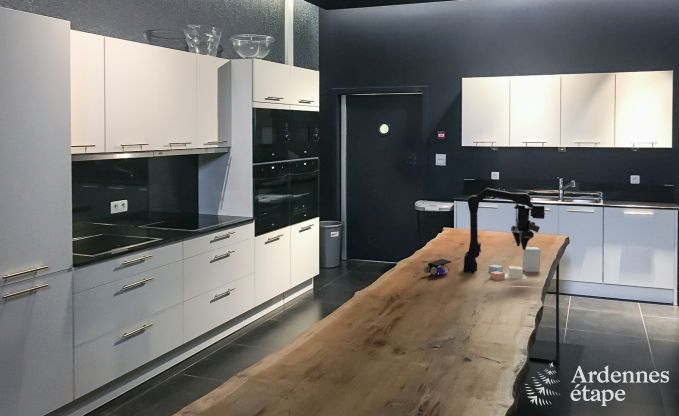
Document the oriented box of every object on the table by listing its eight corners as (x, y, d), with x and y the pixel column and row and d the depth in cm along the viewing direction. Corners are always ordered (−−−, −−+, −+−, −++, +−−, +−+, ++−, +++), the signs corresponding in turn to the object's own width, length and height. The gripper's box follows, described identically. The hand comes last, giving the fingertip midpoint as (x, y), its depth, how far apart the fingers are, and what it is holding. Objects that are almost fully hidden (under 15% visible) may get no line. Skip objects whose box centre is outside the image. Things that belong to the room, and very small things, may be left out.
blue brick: (488, 273, 345) (489, 266, 345) (493, 272, 349) (494, 264, 348) (497, 275, 342) (497, 267, 341) (502, 273, 346) (502, 266, 345)
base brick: (510, 276, 335) (510, 269, 334) (508, 274, 341) (508, 266, 340) (522, 277, 334) (522, 269, 334) (520, 274, 340) (521, 266, 340)
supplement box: (539, 273, 347) (541, 249, 345) (525, 273, 347) (526, 249, 345) (536, 270, 354) (537, 246, 352) (521, 270, 354) (523, 246, 353)
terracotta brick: (497, 282, 327) (497, 274, 327) (489, 280, 332) (490, 272, 331) (504, 281, 330) (504, 273, 330) (497, 278, 334) (497, 271, 334)
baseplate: (502, 279, 332) (502, 277, 332) (500, 274, 342) (500, 273, 342) (527, 280, 331) (527, 278, 331) (524, 275, 341) (524, 274, 341)
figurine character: (433, 281, 333) (452, 273, 343) (433, 266, 331) (452, 259, 341) (423, 279, 338) (441, 271, 348) (422, 264, 336) (441, 257, 346)
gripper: (545, 221, 331) (542, 251, 333) (532, 215, 350) (530, 244, 352) (522, 220, 331) (520, 251, 333) (511, 214, 349) (509, 244, 351)
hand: (521, 247), depth 342 cm, fingers open, 9 cm apart
